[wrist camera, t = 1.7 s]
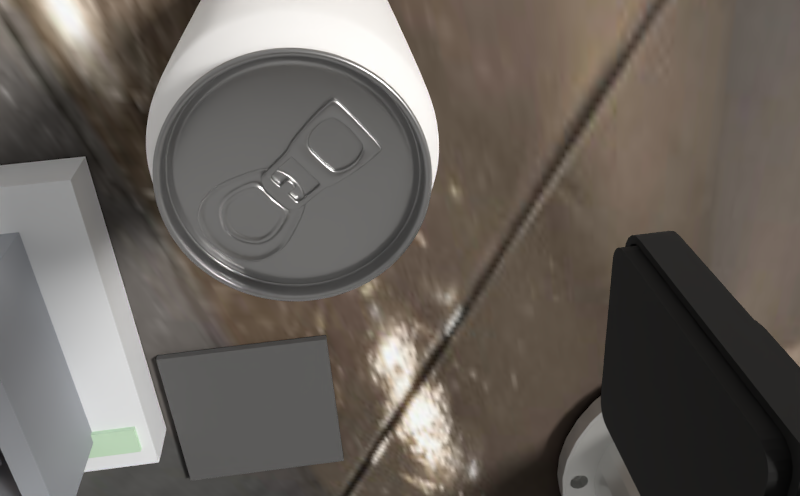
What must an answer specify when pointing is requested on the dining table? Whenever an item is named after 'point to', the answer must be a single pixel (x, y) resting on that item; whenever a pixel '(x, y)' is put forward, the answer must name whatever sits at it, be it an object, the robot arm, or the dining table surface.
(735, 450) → the robot arm
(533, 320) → the dining table surface
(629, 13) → the dining table surface
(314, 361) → the mat
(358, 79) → the can
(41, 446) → the box
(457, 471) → the dining table surface
